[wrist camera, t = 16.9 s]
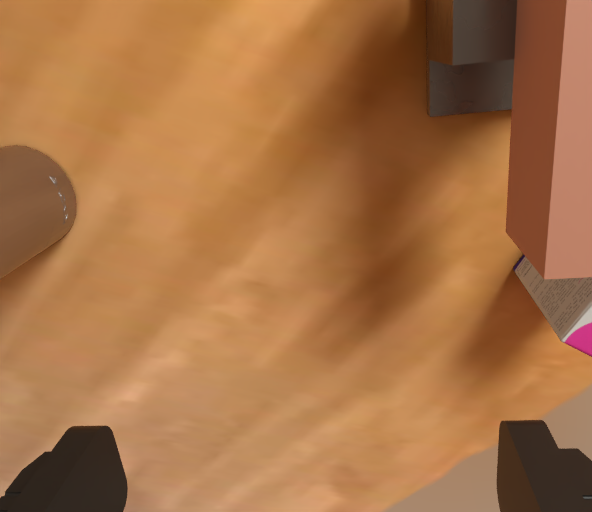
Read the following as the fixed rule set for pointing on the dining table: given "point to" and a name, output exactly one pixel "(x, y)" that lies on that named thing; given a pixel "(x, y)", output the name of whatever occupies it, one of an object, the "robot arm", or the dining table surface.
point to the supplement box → (561, 304)
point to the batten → (552, 138)
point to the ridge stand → (470, 55)
